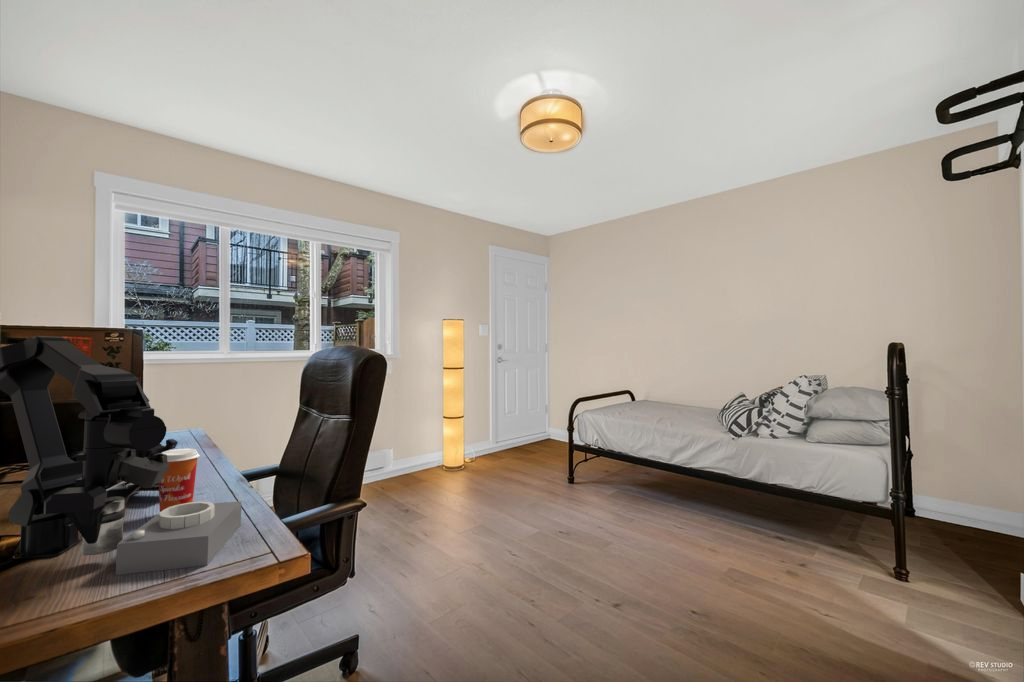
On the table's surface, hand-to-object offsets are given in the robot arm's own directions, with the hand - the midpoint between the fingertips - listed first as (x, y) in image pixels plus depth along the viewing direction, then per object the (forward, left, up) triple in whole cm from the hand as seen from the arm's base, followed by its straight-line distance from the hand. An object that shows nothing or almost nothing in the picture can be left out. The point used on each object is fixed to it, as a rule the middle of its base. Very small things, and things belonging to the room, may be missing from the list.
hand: (102, 536), depth 75 cm
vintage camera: (-10, +37, -5) cm, 39 cm away
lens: (0, 0, -2) cm, 2 cm away
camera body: (+11, +4, -5) cm, 13 cm away
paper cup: (+2, +23, -5) cm, 24 cm away
